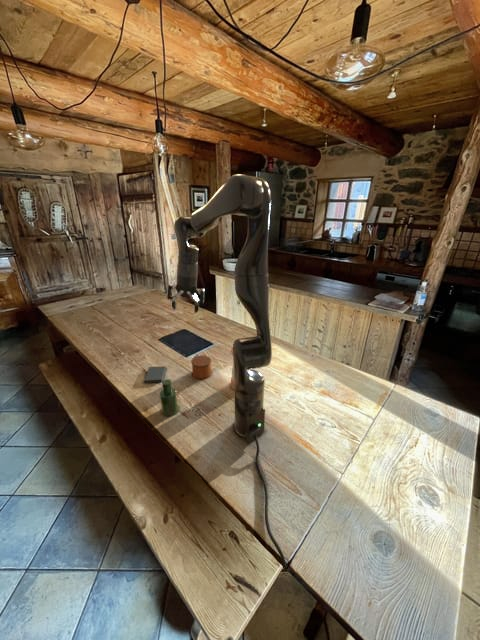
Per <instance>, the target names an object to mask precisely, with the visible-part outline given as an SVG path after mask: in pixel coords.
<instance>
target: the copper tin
mask: <svg viewBox="0 0 480 640" xmlns="http://www.w3.org/2000/svg"><path fill="white" fill-rule="evenodd" d="M190 363H191V369H192V376H193V377H194V378H195V379H198V380H203V379H207V378H209V377H210V376H211V375H212V359H211V357H210V356H208V355H197V356H194V357H193V358H192V359H191V362H190Z"/></svg>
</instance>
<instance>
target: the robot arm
mask: <svg viewBox="0 0 480 640" xmlns="http://www.w3.org/2000/svg"><path fill="white" fill-rule="evenodd" d="M271 196H272V195H271V189H270V186H269V183H268V182H267V180H266V179H264V178H263V177H260V176H259V177H258V176H254V175H247V174H239V173H238V174H233V175H231V176H230V177H229V178H227V179H226V180H225V181H224V182H223V184H222V185H221V186H220V187H219V188H218V189H217V191H215V193H214V194H213V195H212V196H211V198H210V199H208V201H207V202H206V203H205V204H204V205H202V206H200V207H199V208H197V209H196V210H194V211H193V212H192V213H191V214H190V216H183V215H181V216H178V217H176V219H175V221H174V223H173V230H174V234H175V237H176V242H177V248H178V257H177V260H178V261H177V268H176V284H174V283H172V282H170V283H169V285H168V286H167V297H166V298H167V300H171V308H172V309H173V311H176V309H177V304H178V303H177V299H178V298H179V297H181V298H186V299H190V300H192V302H194V313H195V314H197V313H198V312H199V309H200V305H204V303H205V292H206V291H205V288H204V287H202V288H198V274H199V264H198V262H199V247H198V246H197V245H196V244H193V243H188V239H200V238H203V237H205V235H206V234H207V232H209V231H211V230H213V229H214V228H216V227H217V226H218V225H220V224H221V221H222V219H223V217H225V216H230V215H236V216H241V217H242V216H243V217H247V233H246V234H247V235H246V239H245V242H244V244H243V247H242V249H241V251H240V253H239V255H238V258H237V259H236V262H235V266H234V272H233V273H234V291H235V295H236V297H237V299H238V301H239V302H240V304H241V305H242V307H244V309H245V310H246V312H247V313H248V314H249V316H250V318H251V320H252V321H253V324H254V326H255V332H256V334H255V335H256V336H248V337H239V338H236V339H235V340H234V341H233V344H232V347H233V354H232V361H233V360H234V380H235V390H234V426H233V427H234V430H235V432H236V434H237V435H238V436H240V437H242V438H244V439H246V440H247V442H248V443H252V442H255V446H256V453H255V464H256V468H257V471H258V474H259V476H260V479H261V482H262V485H263V490H264V521H265V527H266V531H267V534H268V536H269V539H270V540H271V542H272V544H273V545H274V547H275V549H276V550H277V552H278V555H279V557H280V560H281V563H282V568H283V569H284V570H286V569H288V568H287V566H288V565H287V561H286V558H285V555H284V552H283V551H282V549H281V546H280V545H279V543H278V542H277V539H276V538H275V537H274V535H273V533H272V531H271V527H270V526H271V525H270V522H269V492H268V486H267V485H268V484H267V483H266V480H265V477H264V474H263V472H262V469H261V466H260V461H259V454H260V443H259V441H258V438H260V437H262V434H263V433H265V424H266V423H265V420H266V409H265V408H264V400H265V399H264V398H265V385H266V384H265V383H266V380H265V377H264V375H263V374H262V373H261V372H260V371H258V370H255V369H261V368H266V367H269V366H270V365H271V363H272V359H273V358H272V357H273V351H272V350H273V349H272V337H271V326H270V314H269V312H270V311H269V307H270V306H269V291H270V289H269V287H270V286H269V285H270V283H269V282H270V280H269V229H270V228H269V227H270V214H271V198H272V197H271ZM174 290H175V291H176V292H177V293H175V295H173V291H174ZM197 293H198V295H199V297H198V295H197Z"/></svg>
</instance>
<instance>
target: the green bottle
mask: <svg viewBox="0 0 480 640" xmlns="http://www.w3.org/2000/svg"><path fill="white" fill-rule="evenodd" d="M161 386H162V389H161V390H160V391H159V400H160V406H161V412H162V414H163V416H165V417H171V416H174V415H176V414H177V413H178V411H179V403H178V395H177V389H175V388H174V387H173V386H172V381H171V379H168V378H167V379H163V380H162V382H161Z"/></svg>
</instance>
